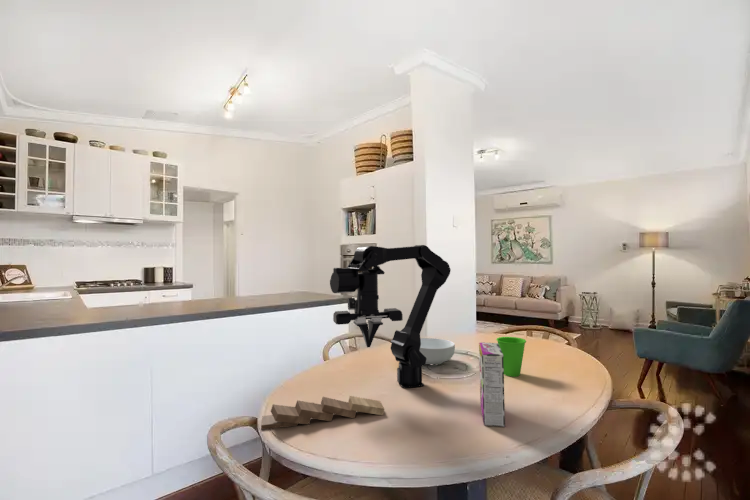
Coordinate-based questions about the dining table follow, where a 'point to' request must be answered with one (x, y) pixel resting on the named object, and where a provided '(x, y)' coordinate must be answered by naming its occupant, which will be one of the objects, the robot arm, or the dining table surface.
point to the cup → (512, 354)
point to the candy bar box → (492, 384)
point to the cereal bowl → (436, 350)
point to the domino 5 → (366, 405)
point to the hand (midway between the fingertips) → (368, 346)
